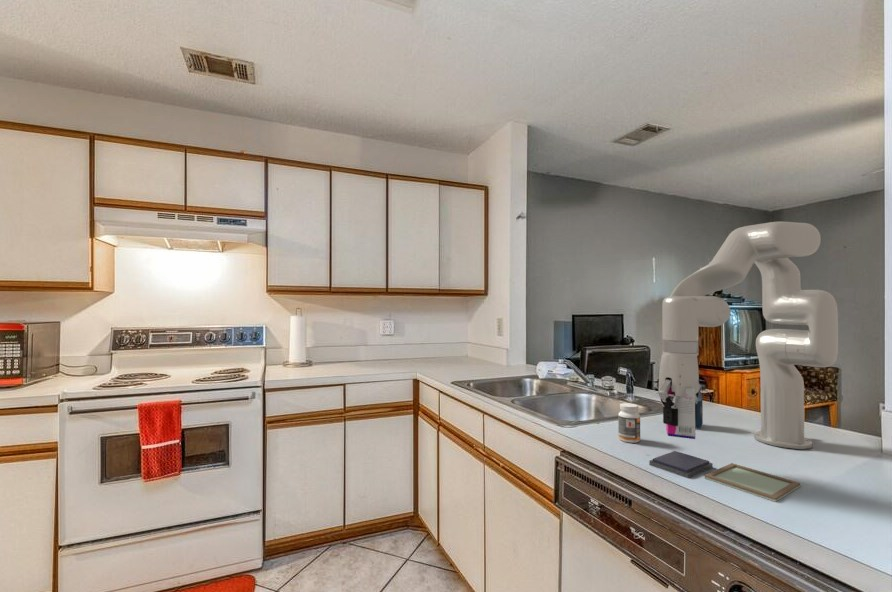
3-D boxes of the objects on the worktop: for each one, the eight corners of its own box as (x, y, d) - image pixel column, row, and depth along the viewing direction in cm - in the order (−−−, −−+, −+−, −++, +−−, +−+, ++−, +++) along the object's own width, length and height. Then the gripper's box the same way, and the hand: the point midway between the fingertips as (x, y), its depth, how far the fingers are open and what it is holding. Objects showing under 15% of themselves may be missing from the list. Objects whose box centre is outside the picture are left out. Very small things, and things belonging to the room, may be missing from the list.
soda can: (707, 429, 128) (707, 390, 129) (684, 429, 129) (684, 390, 129) (694, 422, 135) (694, 385, 136) (672, 422, 135) (672, 385, 136)
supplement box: (692, 432, 100) (692, 384, 101) (695, 439, 95) (695, 389, 95) (665, 429, 103) (665, 382, 103) (667, 436, 98) (667, 387, 98)
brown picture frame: (731, 466, 99) (731, 463, 99) (800, 486, 88) (800, 482, 88) (704, 478, 92) (704, 475, 92) (775, 501, 81) (775, 498, 81)
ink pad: (674, 455, 106) (674, 449, 106) (712, 467, 98) (712, 461, 98) (649, 464, 100) (649, 458, 100) (688, 478, 92) (688, 471, 92)
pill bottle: (642, 444, 114) (642, 407, 115) (620, 442, 116) (620, 406, 116) (637, 437, 120) (637, 403, 120) (616, 436, 121) (616, 402, 121)
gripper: (683, 345, 107) (683, 413, 107) (644, 348, 98) (644, 423, 98) (714, 347, 101) (715, 420, 101) (676, 351, 92) (676, 432, 91)
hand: (680, 421), depth 99 cm, fingers closed on supplement box, 7 cm apart
